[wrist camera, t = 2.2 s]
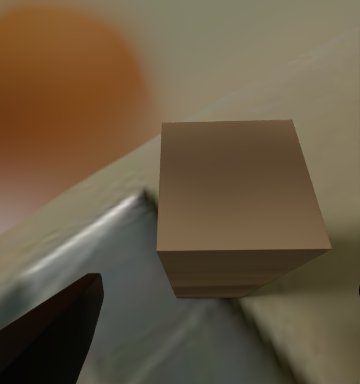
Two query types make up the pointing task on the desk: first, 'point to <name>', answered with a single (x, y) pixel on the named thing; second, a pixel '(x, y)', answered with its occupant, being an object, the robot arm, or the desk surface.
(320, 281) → the desk surface
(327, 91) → the desk surface
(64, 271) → the desk surface
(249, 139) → the peg
